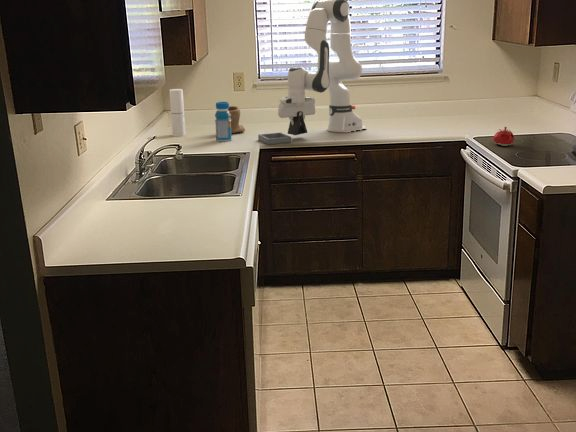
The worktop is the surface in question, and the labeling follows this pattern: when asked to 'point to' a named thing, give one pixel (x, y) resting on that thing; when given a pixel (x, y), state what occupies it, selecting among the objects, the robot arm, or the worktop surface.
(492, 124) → the worktop surface
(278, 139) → the tray
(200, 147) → the worktop surface
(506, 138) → the pomegranate
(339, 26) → the robot arm
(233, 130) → the tan boot
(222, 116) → the beverage bottle
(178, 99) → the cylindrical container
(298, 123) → the door stopper
